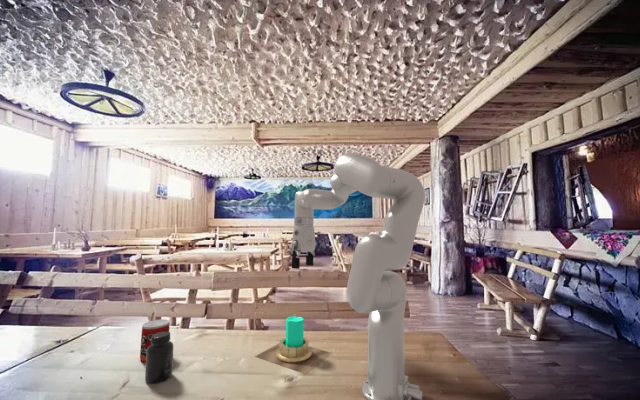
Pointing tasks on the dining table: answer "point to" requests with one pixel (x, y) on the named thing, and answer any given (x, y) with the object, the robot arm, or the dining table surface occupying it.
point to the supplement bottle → (159, 358)
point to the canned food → (147, 333)
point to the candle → (294, 331)
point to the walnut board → (299, 367)
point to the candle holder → (293, 352)
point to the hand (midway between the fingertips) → (302, 266)
